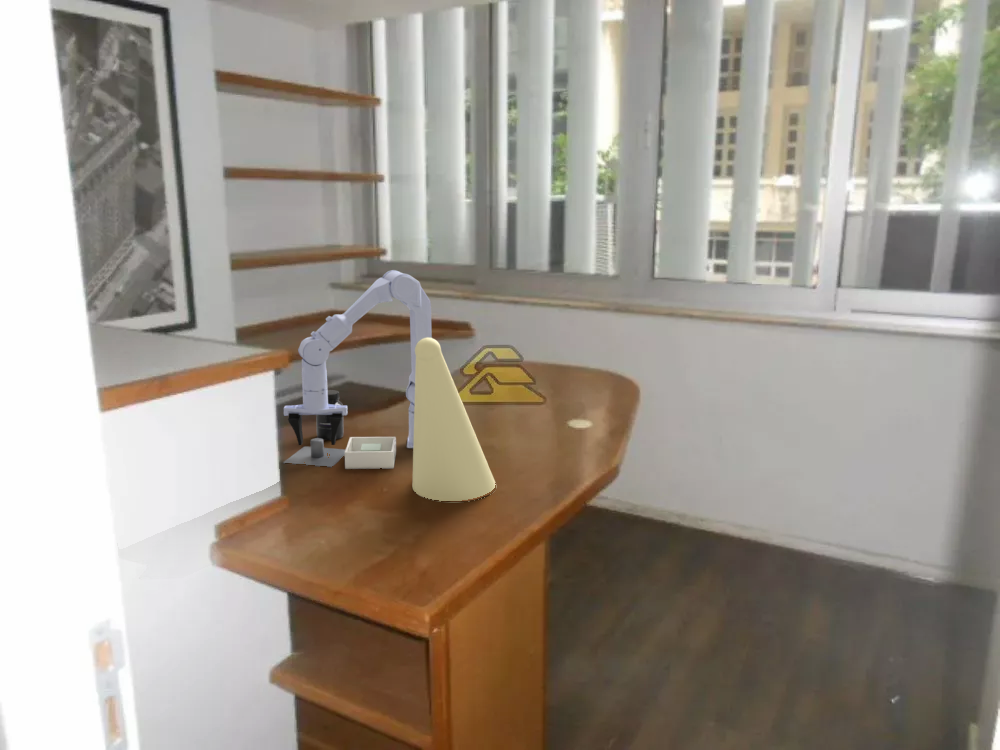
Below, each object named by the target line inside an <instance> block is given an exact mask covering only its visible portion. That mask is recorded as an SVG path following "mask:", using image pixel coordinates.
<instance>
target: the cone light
mask: <svg viewBox="0 0 1000 750" xmlns="http://www.w3.org/2000/svg"><path fill="white" fill-rule="evenodd" d="M415 355H416V369H415V407H414V445H413V448H412V450H413V451H412V490H413V491H414V493H415V492H416V493H415V494H417V495H418V496H419V497H421V498H424V497H425V498H424V499H427V498H428V499H427V500H430V499H432V500H431V501H434V500H439V501H438V502H441V501H462V500H468V499H473V498H477V497H480V496H483V495H485V494H487V493H489V492H491V491H492V490H493V489H494V488H495V485H496V486H497V483H496V480H495V478H494V475H493V473H492V471H491V469H490V467H489V464H488V461H487V459H486V456H485V454H484V452H483V449H482V447H481V443H480V442H479V440H478V438H477V435H476V431H475V430H474V427H473V426H472V423H471V420H470V418H469V414H468V413H467V411H466V408H465V405H464V403H463V401H462V399H461V396H460V394H459V393H460V392H459V391H458V389H457V387H456V383H455V381H454V379H453V377H452V374H451V371H450V369H449V367H448V365H447V362H446V360H445V357H444V355H443V351H442V347H441V344H440V342H439V341H438V340H436V339H435V338H433V337H432V338H423V339H421V340H420V341H419V342H418V343H417V345H416V347H415ZM495 483H496V484H495Z"/></svg>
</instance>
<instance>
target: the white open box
mask: <svg viewBox="0 0 1000 750" xmlns="http://www.w3.org/2000/svg"><path fill="white" fill-rule="evenodd" d="M362 444H382V451H361V447H362ZM345 449H346V450H345V456H344V469H345V470H351V469H352V470H361V469H362V470H365V469H366V470H369V469H371V470H372V469H374V470H375V469H380V468H382V469H394V468H395V463H396V462H395V461H396V455H397V436H349V439H348V442H347V445H346V447H345Z"/></svg>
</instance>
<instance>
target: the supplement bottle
mask: <svg viewBox="0 0 1000 750" xmlns="http://www.w3.org/2000/svg"><path fill="white" fill-rule="evenodd" d="M328 404H332V405H343V403H342V402H341V401H340V391H339V390H334V389H328ZM315 416H316V417H315V418H316V419H315V421H316V438H321V439H323V441H331V434H332V432H331V421H330V418H331V416H332V415H315ZM344 426H345V425H344V416H343V417H342V419H341V421H340V424H339V427H338V430H337V434H336V439H337V440H340V439H342V438H343V437H344V433H345V431H344Z"/></svg>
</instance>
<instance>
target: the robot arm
mask: <svg viewBox="0 0 1000 750" xmlns="http://www.w3.org/2000/svg"><path fill="white" fill-rule="evenodd" d="M393 298H394V299H396V300H398V301H399V302H400V303H401V304H403V305H404V306H406V307H407V309H409V324H410V325H409V329H410V332H409V333H410V336H409V337H410V361H411V362H410V364H411V365H410V366H411V367H410V369H411V372H410V374H409V376H408V385H407V386H406V389H405V396H406V398H407V400H408V401H409V403H410V404H409V407H408V436H407V442H406V448H407V449H413V445H414V407H415V369H416V355H415V347H416V345H417V343H418V342H419V341H420V340H421V339H423V338H433V336H432V335H433V333H432V302H431V300H430V298H429V297H428V295H427V294H426V292H425V290H424V289H423V288H422V285H421V282H420V281H419V280H417V279H416V278H415V277H413V276H412V275H410V274H408V273H403V272H401V271H398V270H396V269H392V270H388V271H387V272H385V273H384V274H383V275H382V277H379V278H377V279H376V280H375V281H374V282H373V283H372V285H371V286H370V287H368V288H367V289H366V291H364V292H363V293H362V294H361V296H360V297H358V299H356V300H355V302H354V303H353V304H351V306H349V307H348V308H347V310H345V312H343V313H342V314H341V313H340V314H339V313H338V314H333V315H332V316H330V315H328V316H327V317H326V318H325V320H326V321H325V323H324V324H322V325H321V326H320V327H319V328H318V329H317V330H316V331H315V330H314V331H311V333H310V335H311V336H308V337H306V338H304V339H302V340H301V342H300V344H299V347H298V348H297V350H298V354H299V356H300V357H301V358H302V359H301V384H302V385H301V388H302V404H294V405H293V404H291V405H284V407H283V416H288V419H287V420H288V423H289V424H290V426H291V427H292V429H293V432H294V434H295V437H296V439H297V444H298V446H302V445H303V443H304V436H303V416H312V415H313V416H316V415H332V416H331V418H330V421H331V432H332V434H331V440H330V443H331V446H335V445H336V434H337V430H338V427H339V424H340V421H341V419H342V417H343V418H344V416H347V415H348V414H349V413H348V405H332V404H328V390H329V389H328V371H327V370H328V369H327V361H328V359H329V357H330V352H332V351H333V350H334V349H336V348H337V347H338V346H339V345H340V344H341V343H342V342H343V341H344V340H345V339H347V338H348V337H349V336H350V335H351V334H352V333H353V325H354V324H355V323H356V322H358V321H359V320H360V319H362V317H363V316H365V315H366V314H368V312H370V311H371V310H372V309H373V308H374V307H376V305H378V304H381V303H382V304H383V303H391V302H393V301H394V300H393Z"/></svg>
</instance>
